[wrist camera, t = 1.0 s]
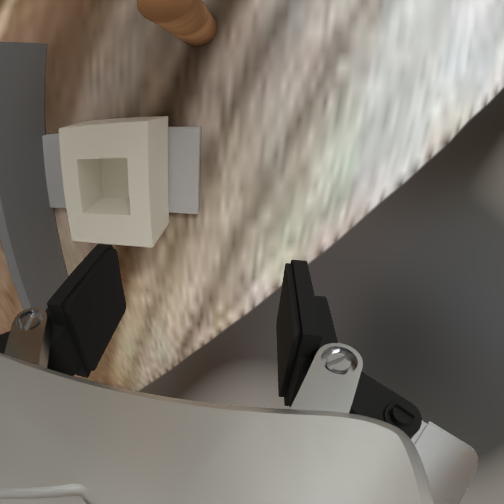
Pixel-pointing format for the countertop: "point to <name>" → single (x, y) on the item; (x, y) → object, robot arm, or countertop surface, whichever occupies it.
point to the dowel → (181, 19)
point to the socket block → (116, 180)
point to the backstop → (54, 175)
